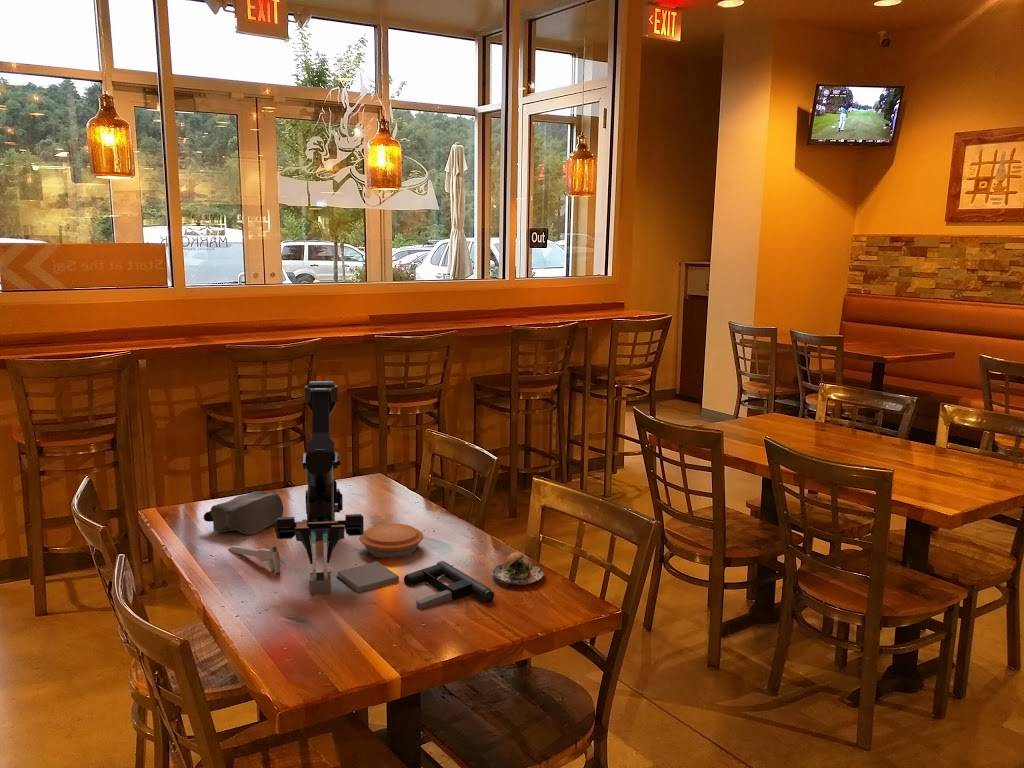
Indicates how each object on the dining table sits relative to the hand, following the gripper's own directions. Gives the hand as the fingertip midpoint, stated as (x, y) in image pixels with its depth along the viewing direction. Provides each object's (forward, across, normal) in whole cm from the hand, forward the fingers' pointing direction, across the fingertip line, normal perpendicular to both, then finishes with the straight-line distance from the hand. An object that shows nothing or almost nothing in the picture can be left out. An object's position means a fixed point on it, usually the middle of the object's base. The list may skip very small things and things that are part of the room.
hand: (319, 563), depth 174 cm
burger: (+4, -44, -6) cm, 44 cm away
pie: (-11, -16, -21) cm, 28 cm away
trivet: (+1, -10, -9) cm, 13 cm away
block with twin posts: (+4, 0, -6) cm, 7 cm away
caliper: (-9, +16, -19) cm, 26 cm away
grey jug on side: (-26, +21, -35) cm, 48 cm away
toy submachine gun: (+8, -26, -3) cm, 27 cm away
